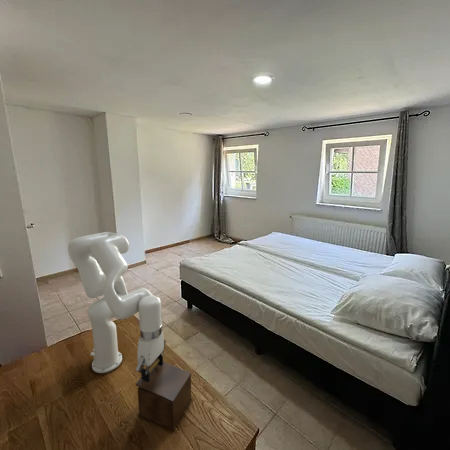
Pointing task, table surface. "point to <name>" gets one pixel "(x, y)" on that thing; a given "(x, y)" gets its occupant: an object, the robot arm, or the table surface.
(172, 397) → the lid
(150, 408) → the chest
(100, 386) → the table surface
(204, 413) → the table surface
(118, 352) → the robot arm
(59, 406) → the table surface
